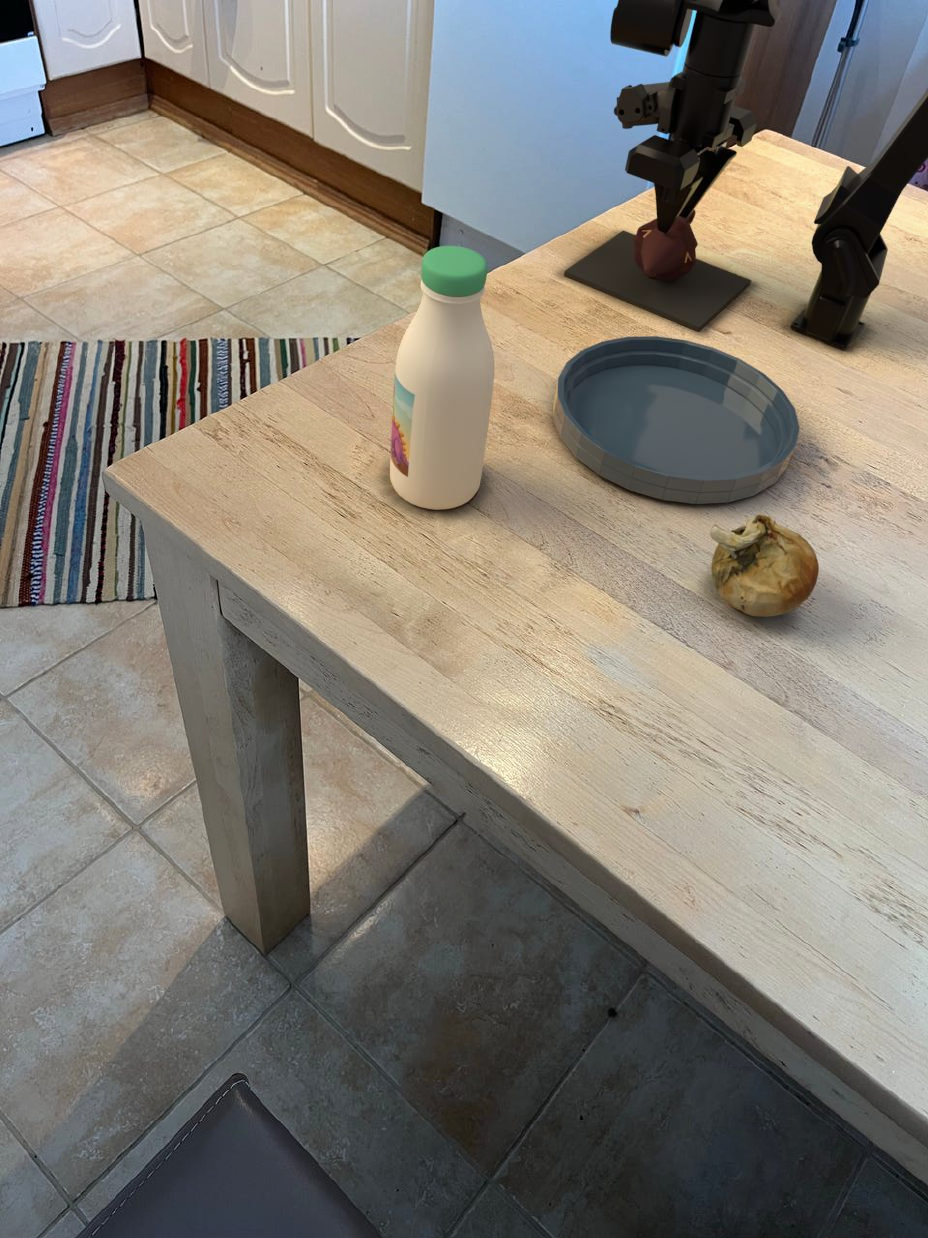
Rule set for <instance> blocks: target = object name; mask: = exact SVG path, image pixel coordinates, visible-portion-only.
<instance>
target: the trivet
mask: <svg viewBox="0 0 928 1238" xmlns="http://www.w3.org/2000/svg"><path fill="white" fill-rule="evenodd" d="M635 235H636V234H634V233H631V232H629V231H626V230H622V231H620V232H619V233H617V234H616V235H615V236H612V237H611V238H610V239H609V240H607V241H606V242H604V243H602V244H601V245H599V246H598V247H597V248H595V249H594V250H592V251H591V252H590V253H588V254H587V255H586V256H584V257H582V258H581V259H580V260H578V261H577V262H575V263H574V264H572V265H571V266H569V267H568V268H567V269H565V270H564V272H563V276H564V277H566V278H569V279H571V280H573V281H576V282H578V283H581V284H583V285H585V286H588V287H591V288H593V289H595V290H597V291H600V292H602V293H605V294H608V295H609V296H612V297H614V298H617V299H619V300H622V301H623V302H626V303H628V304H630V305H634V306H635V307H638V308H640V309H642V310H645V311H648V312H650V313H653V314H654V315H657V316H660V317H662V318H665V319H667V320H669V321H672V322H674V323H676V324H678V325H681V326H683V327H686V328H689V329H691V330H692V331H695V332H700V331H701V330H702V329H703V328H704V327H705V326H707V325H708V324H709V323H710V322H711V321H712V320H713V319H714V318H716V317H717V316H718V315H719V314H720V313H721V312H722V311H723V310H724V309H725V308H726V307H727V306H729V304H731V303H732V302H733V301H734V300H736V298H737V297H738V296H739V295H740V294H741V293H743V292H744V291H745V290H746V289H747V288H749V286H750V285H751V283H752V279H750V278H746V277H744V276H741V275H738V274H736V273H734V272H732V271H728V270H726V269H724V268H722V267H718V266H716V265H714V264H711V263H708V262H706V261H703V260H701V259H698V258H696V263H695V265H694V266H693V267H692V268H691V271H690V272H689V273H688V274H685V275H683V276H681V277H680V278H678V279H677V280H675V281H673V282H670V283H669V282H664V281H660V280H656V279H652V278H648V277H647V275H646V274H645V273H644V272H643V270H642V269H641V268H640V267H639V266H638V265H637V264H636V262H635V261H634V240H633V239H634V236H635Z"/></svg>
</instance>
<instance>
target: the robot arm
mask: <svg viewBox="0 0 928 1238" xmlns="http://www.w3.org/2000/svg"><path fill="white" fill-rule="evenodd" d="M693 11H696V12H695V17H694V21H693V25H692V29H691V32H690V36H689V41H688V46H687V50H686V54H685V59H684V61H683V65H682V66H683V67H682V71H680V72H678V73H677V74H674V75H673V76H672V77H671V78H670V79H669V81H666V82H655V83H647V84H643V83H639V84H637V85H634V86H632V84H629V85H627V86H625V87H622V88H621V90H620V92H619V96H617V97H616V106H615V107H614V108H613V114H614V115H615V116H616V117H617V120H618V122H620V123H621V127H622V129H624V130H630V129H633V127H639V126H651V125H653V126H654V125H657V126H656V132H658V133H661V134H663V135H672V136H671V139H668V138H665V137H662V136H659V135H656V134H654V135H651V136H650V137H649V138H647V139H645V140H644V141H642V142H640V143H638V144H637V145H635V146H634V147H632V148H631V149H629V150H628V154H627V157H626V163H625V167H624V171H625V173H626V174H628V175H631V176H634V177H636V178H639V179H642V180H644V181H647V182H649V183H652V184H653V186H654V194H655V195H654V196H655V208H656V218H657V228H658V230H659V231H660V232H663V233H667V232H668V231H669V230H670V228H671V227H672V225H673V224H674V222H675V221H676V219H677V218H678V216H680V217H683V218H687V217H689V215H690V214H691V213H692V211H693V210H696V208H697V206H698V204H699V203H700V202H701V201H702V199H703V198H704V197H705V195H706V194H707V193H708V191H709V190H710V189H711V187H712V186H713V185H714V184H715V183H716V181H717V180H718V178H719V177H720V176H721V174H722V173H723V172H724V171H725V170H726V168H727V167H728V166H729V164H730V163H731V161H733V159H734V158H735V157H736V156H737V154H738V152H737V151H736V150H735V149H732V148H730V147H726V146H727V143H728V141H727V139H728V138H729V137H731V136H735V137H736V139H735V140H736V141H735V143H736V147H739V148H743V147H745V146H747V145H748V144H749V143H750V142H752V140H753V137H754V133H755V130H756V127H757V120H756V118H755V116H754V114H753V112H752V110H749V109H745V108H742V107H740V106H737V105H735V102H736V99H737V97H738V96H740V95H741V94H743V93H744V92H745V89H746V85H747V82H748V81H747V80H745V79H742V77H743V74H744V73H743V72H744V69H745V66H746V62H747V60H748V59H747V58H748V55H749V51H750V49H751V48H750V47H751V45H752V41H753V38H754V34H755V30H756V26H761V27H765V28H773V27H775V25H776V24H777V22H778V20H779V19H780V18H781V17H782V10H781V9H780V7H778V4H777V3H776V2H775V0H618V1H617V3H616V7H615V8H614V9H613V13H612V17H611V21H610V22H611V23H610V32H609V35H610V36H609V37H610V38H609V39H610V43H611V45H614V46H620V47H624V48H628V49H632V50H636V51H640V52H644V53H650V54H653V55H657V56H661V57H668V56H669V55H670V53H671V52H672V49H673V47H675V48H682V47H683V45H684V43H685V41H686V38H687V35H688V33H689V29H690V26H691V22H692V17H693ZM927 160H928V88H927V89H926V90H925V91H924V93H923V94H922V96H921V97H920V99H918V101H917V102H916V103H915V105H914V107H913V108H912V109H911V110H910V111H909V113H908V114H907V116H906V117H905V119H904V120H903V121H902V122H901V124H900V125H899V127H898V128H897V129H896V131H895V132H894V133H893V134H892V136H891V137H890V139H889V140H888V141H887V143H886V144H885V145H884V147H883V148H882V150H881V151H880V152H879V153H878V154H877V156H876V157H875V159H874V160H873V161H871V162H870V164H868V165H866V167H864V168H863V169H862V170H861V171H860V172H858V173H857V172H856V171H855V170H854V168H852V167H851V166H850V165H847V166H846V167H845V169H844V171H843V173H842V175H841V177H840V179H839V181H838V182H837V185H835V187H834V188H833V190H832V191H831V192H829V193H827V194H826V195H825V196H824V197H822V200H821V203H820V205H819V208H818V210H817V213H816V216H815V218H814V220H813V224H814V225H816V227H815V230H814V233H813V235H812V239H811V248H812V254H813V255H814V258H815V259H816V261H817V262H819V263H820V264H821V265H820V267H821V269H820V272H819V275H818V277H817V280H816V282H815V284H814V287H813V289H812V292H811V294H810V297H809V300H808V301H807V305H806V307H805V308H803V310H802V311H801V312H800V314H798V315H797V316H796V317H795V319H793V320H792V322H791V324H790V326H789V327H790V329H792V330H793V331H796V332H799V333H801V334H803V335H805V336H809V337H811V338H814V339H816V340H819V341H821V342H823V343H826V344H828V345H830V346H833V347H836V348H838V349H841V350H847V349H848V348H849V347H850V345H852V343H853V342H854V341H855V339H856V338H857V337H858V336H859V335H860V333H862V331H863V330H864V329H865V326H866V323H865V322H863V321H861V318H862V316H863V313H864V311H865V309H866V306H867V304H868V302H869V299H870V297H871V295H872V293H873V292H874V291H875V290H876V289H877V288H878V286H879V285H880V282H881V278H882V275H883V270H884V267H885V262H886V260H887V259H886V258H887V256H888V255H887V254H888V249H889V248H888V246H887V244H886V242H885V241H884V238H883V236H882V234H881V232H882V231H883V229H884V227H885V225H886V223H887V221H888V219H889V217H890V215H891V213H892V211H893V209H894V208H895V206H896V204H897V202H898V199H899V198H900V196H901V194H902V192H903V191H904V189H906V187H907V185H908V184H909V183H910V182H911V180H912V179H913V178H914V177H915V176H916V174H917V173H918V171H919V170H920V169H921V168H922V167H923V165H924V164H925V163H926V162H927Z"/></svg>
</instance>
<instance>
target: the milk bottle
mask: <svg viewBox="0 0 928 1238" xmlns="http://www.w3.org/2000/svg"><path fill="white" fill-rule="evenodd" d="M420 270H421V271H420V276H421V277H420V278H421V280H420V288H421V290H422V292H423V293H422V297H421V301H420V304H419V306H418V309H417V311H416V313H415V315H414V317H413V318H412V320H411V322H410V324H409V325H408V327H407V328H406V330H405V332H404V334H403V336H402V338H401V341H400V344H399V348H398V350H397V354H396V355H397V356H396V361H395V369H394V379H393V381H394V382H393V397H392V400H393V401H392V412H391V413H392V415H391V433H390V435H391V437H390V456H389V457H390V459H389V480H390V483H391V485H392V487H393V489H394V491H395V492H396V493H397V494H398V496H399V497H401V498H402V499H403V500H404V501H406V502H407V503H410V504H411V505H413V506H417V507H419V508H423V509H427V510H436V511H437V510H449V509H454V508H457V507H460V506H463V505H465V504H467V503H468V502H469V501H470V500H471V499H472V498H474V496H475V494H476V493H477V492H478V491H479V488H480V486H481V481H482V475H483V469H484V468H483V467H484V462H485V461H484V460H485V455H486V454H485V453H486V447H487V438H488V432H489V424H490V418H491V417H490V415H491V408H492V401H493V393H494V392H493V391H494V383H495V382H494V380H495V356H494V349H493V344H492V341H491V338H490V335H489V332H488V330H487V326H486V324H485V321H484V316H483V311H482V307H481V299H482V297H483V296H484V295H485V291H486V287H485V285H486V283H487V277H488V263H487V261H486V258H485V257H483V255H481V254H480V253H479V252H477V251H475V250H474V249H470V248H469V247H464V246H459V245H441V246H437V247H434V248H431V249H429V250H428V251H427V252H425V253H424V255H423V258H422V260H421V269H420Z"/></svg>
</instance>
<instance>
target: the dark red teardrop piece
mask: <svg viewBox="0 0 928 1238" xmlns="http://www.w3.org/2000/svg"><path fill="white" fill-rule="evenodd" d="M696 213H697V211H696V209H694V210H693V211H692V213H691V214H690V215H689V217H687V218H683V217H680V216H678V218H677V219H676V221H675V222H674V224H673V225H672V227H671V228H670V230H669V231H668V232H667V233H663V232H660V231H659V230H658V228H657V217H656V218H653V220H650V221H649V222H646V223H645V224H642V225H641V226H639V227H638V228H637V229H636V230H637V231H636V234H634V235H635V236H634V239H633V240H634V261H635V262H636V264H637V265H638V266H639V267H640V268H641V269H642V270H643V272H644V273H645V274H646V275H647V277H648V278H652V279H656V280H660V281H664V282H669V283H670V282H673V281H675V280H677V279H678V278H680V277H681V276H683V275H685V274H688V273H689V272H690V271H691V268H692V267H693V266H694V265H695V263H696V259H697V252H696V251H697V250H696V249H697V247H698V245H699V244H698V240H697V239H696V236H695V234H694V231H693V228H692V226H691V224H692V223H693V221H694V219H695V216H696Z"/></svg>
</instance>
